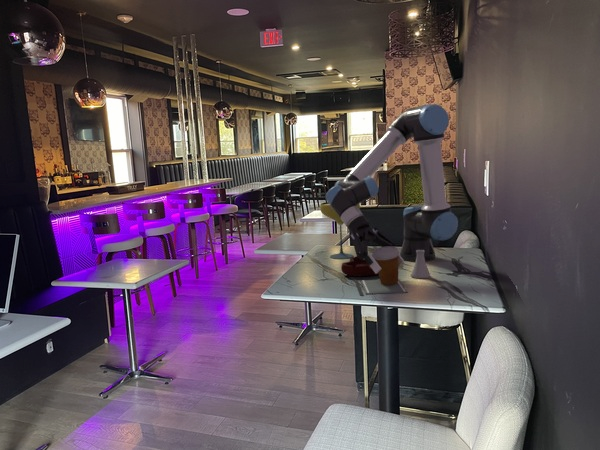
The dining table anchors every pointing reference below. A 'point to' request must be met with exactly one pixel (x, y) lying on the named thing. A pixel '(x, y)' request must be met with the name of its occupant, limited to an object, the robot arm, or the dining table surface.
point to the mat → (382, 287)
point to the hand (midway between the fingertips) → (390, 267)
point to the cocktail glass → (330, 213)
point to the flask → (420, 266)
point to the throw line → (359, 288)
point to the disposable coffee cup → (387, 264)
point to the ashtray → (357, 268)
